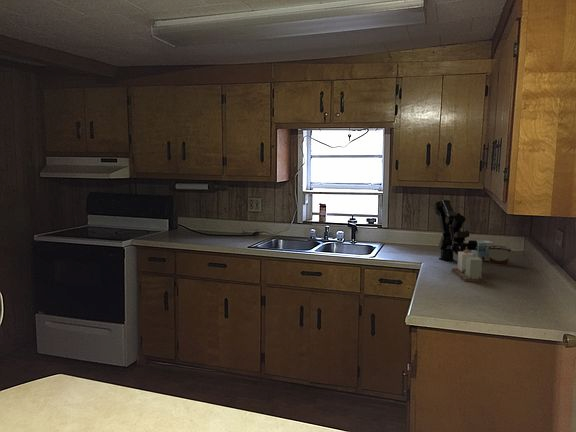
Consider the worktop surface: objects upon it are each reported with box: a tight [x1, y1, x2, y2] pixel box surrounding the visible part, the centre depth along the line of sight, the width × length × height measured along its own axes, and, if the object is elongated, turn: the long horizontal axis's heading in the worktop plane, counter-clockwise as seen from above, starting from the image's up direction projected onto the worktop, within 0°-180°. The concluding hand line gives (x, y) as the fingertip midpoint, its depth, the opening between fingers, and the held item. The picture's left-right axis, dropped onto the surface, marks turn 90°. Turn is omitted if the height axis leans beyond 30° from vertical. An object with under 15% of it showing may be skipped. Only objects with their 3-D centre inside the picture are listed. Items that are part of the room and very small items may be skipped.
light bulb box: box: [470, 240, 495, 262], centre depth 284 cm, size 11×7×11 cm, turn 105°
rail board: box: [451, 267, 487, 283], centre depth 244 cm, size 21×10×2 cm, turn 178°
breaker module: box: [456, 249, 474, 272], centre depth 249 cm, size 7×6×10 cm
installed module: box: [465, 257, 483, 278], centre depth 236 cm, size 6×6×9 cm
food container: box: [488, 244, 512, 267], centre depth 273 cm, size 12×6×10 cm, turn 59°
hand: (461, 258), depth 255 cm, fingers closed
